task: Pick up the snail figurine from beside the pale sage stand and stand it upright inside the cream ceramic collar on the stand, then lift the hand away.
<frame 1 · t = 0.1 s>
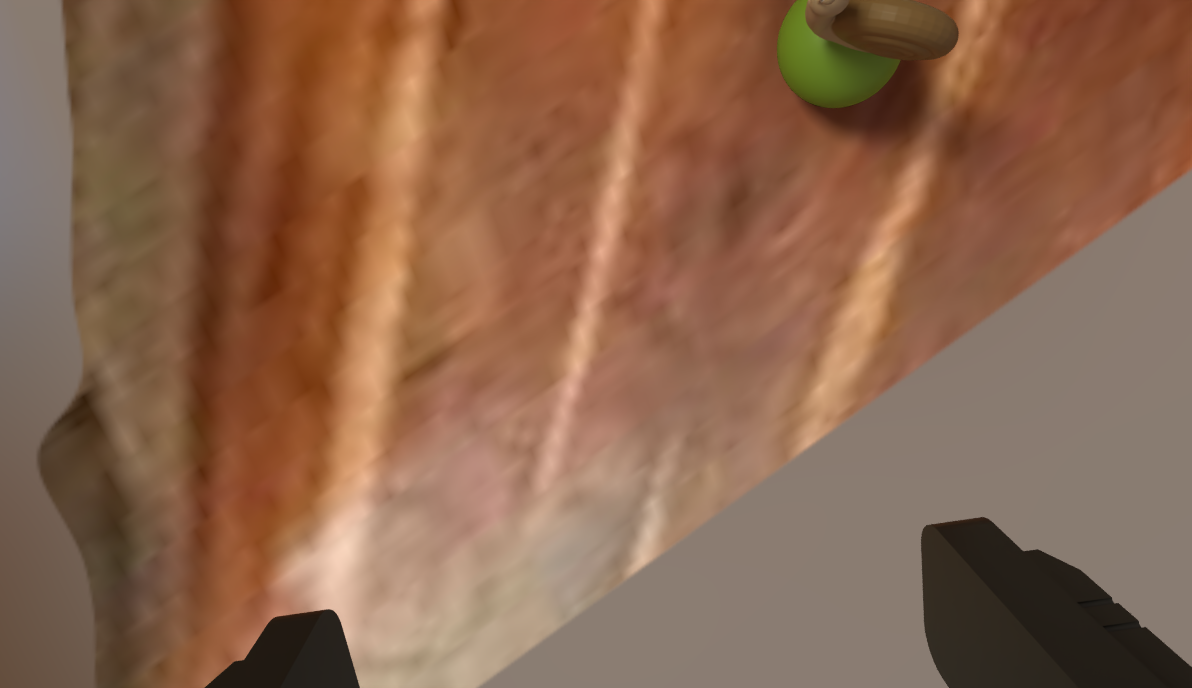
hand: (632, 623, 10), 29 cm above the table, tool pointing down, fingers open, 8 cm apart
snail figurine: (809, 49, 36), on the table
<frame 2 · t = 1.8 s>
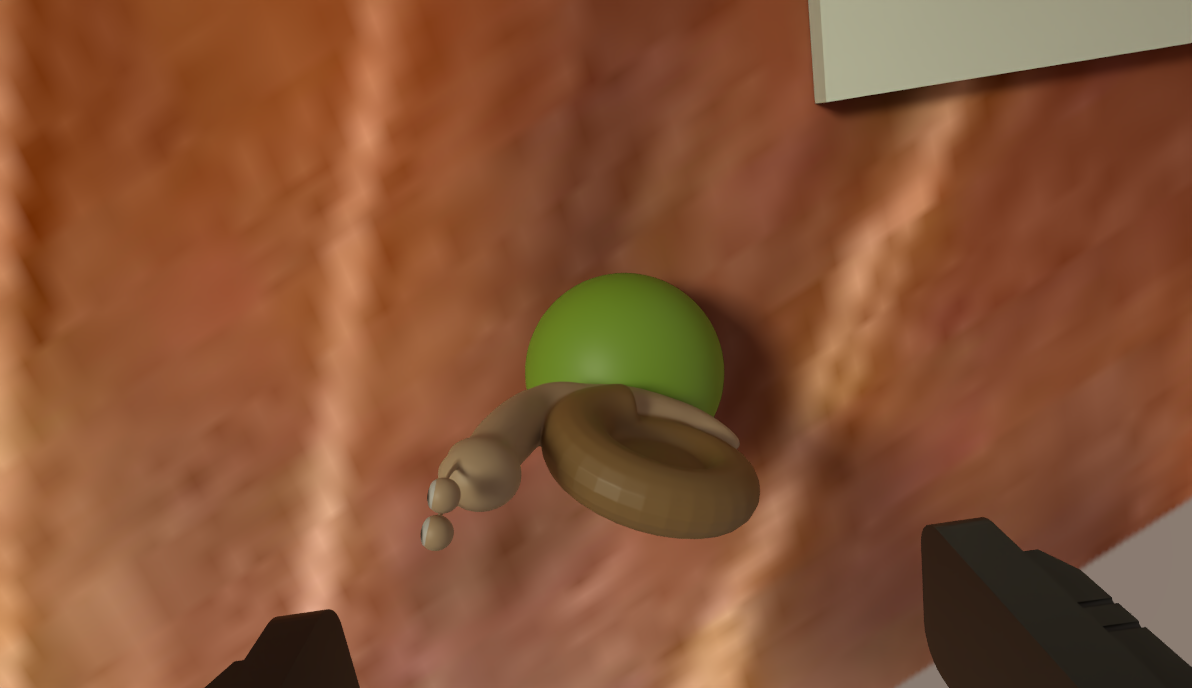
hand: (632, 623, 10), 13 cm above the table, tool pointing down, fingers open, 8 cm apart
snail figurine: (603, 339, 23), on the table
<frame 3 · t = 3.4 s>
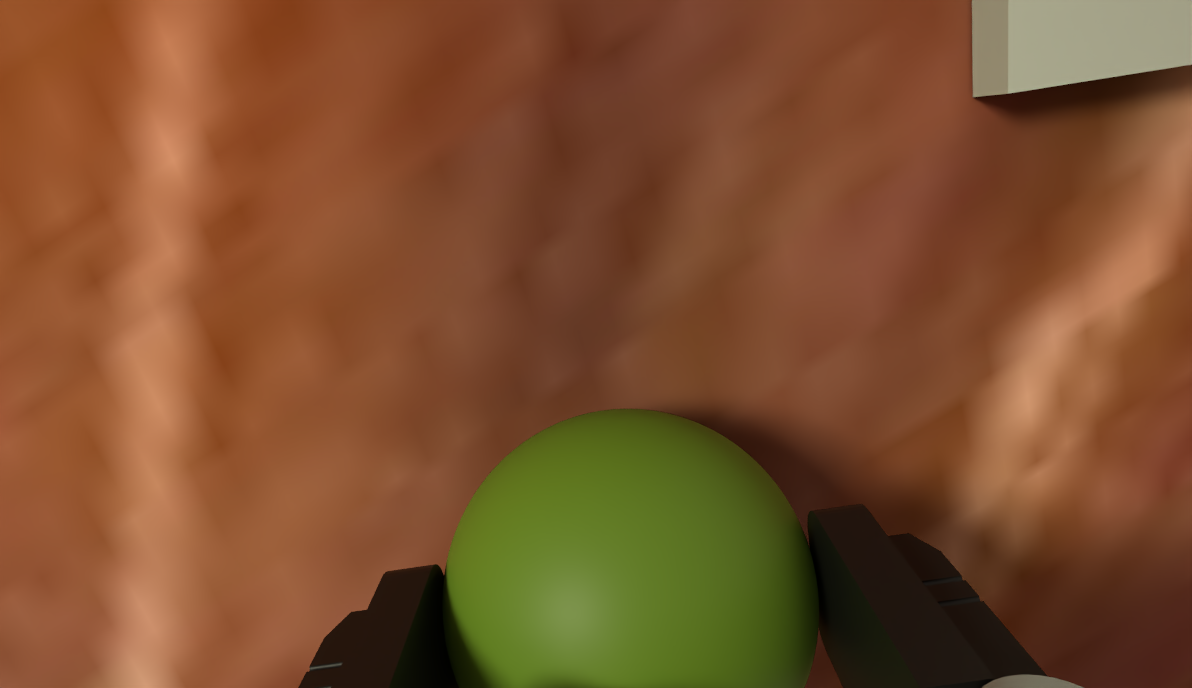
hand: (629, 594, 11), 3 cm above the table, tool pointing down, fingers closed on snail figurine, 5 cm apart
snail figurine: (592, 493, 14), on the table, touching gripper
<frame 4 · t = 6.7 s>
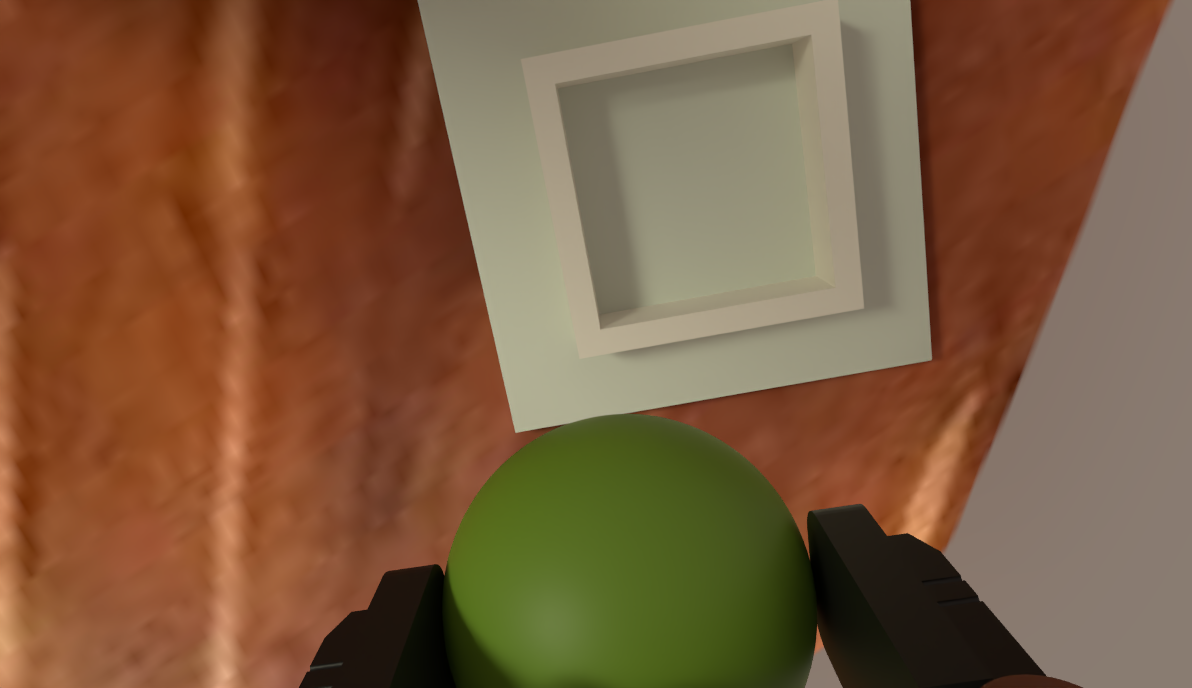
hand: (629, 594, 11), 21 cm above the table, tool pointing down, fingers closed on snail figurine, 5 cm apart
collar stand: (687, 184, 30), on the table
snail figurine: (591, 497, 14), point 18 cm above the table, touching gripper
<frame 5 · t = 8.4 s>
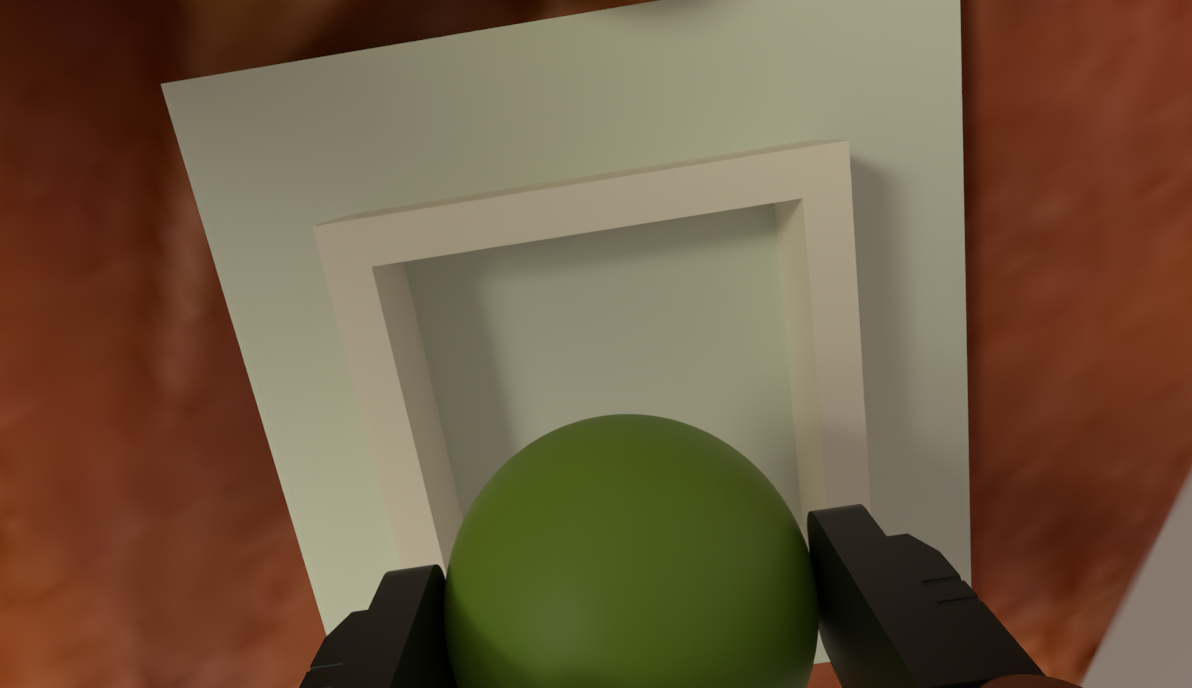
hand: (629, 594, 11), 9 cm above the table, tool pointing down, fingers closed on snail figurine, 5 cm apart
collar stand: (612, 382, 20), on the table
snail figurine: (592, 497, 14), point 6 cm above the table, touching gripper
when the fingers open (5 cm above the table, at t = 9.6 s): snail figurine moves 1 cm, resting on collar stand.
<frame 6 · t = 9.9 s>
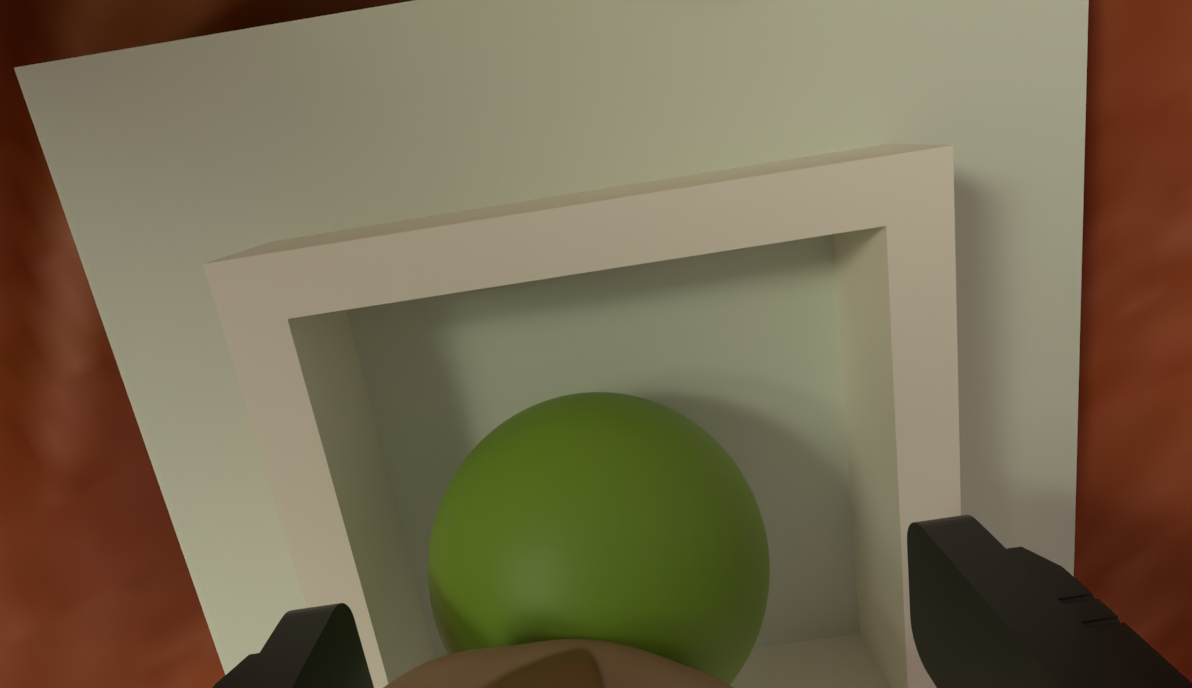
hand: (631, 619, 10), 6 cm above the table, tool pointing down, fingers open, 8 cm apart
collar stand: (617, 452, 15), on the table
snail figurine: (572, 473, 15), point 1 cm above the table, touching collar stand
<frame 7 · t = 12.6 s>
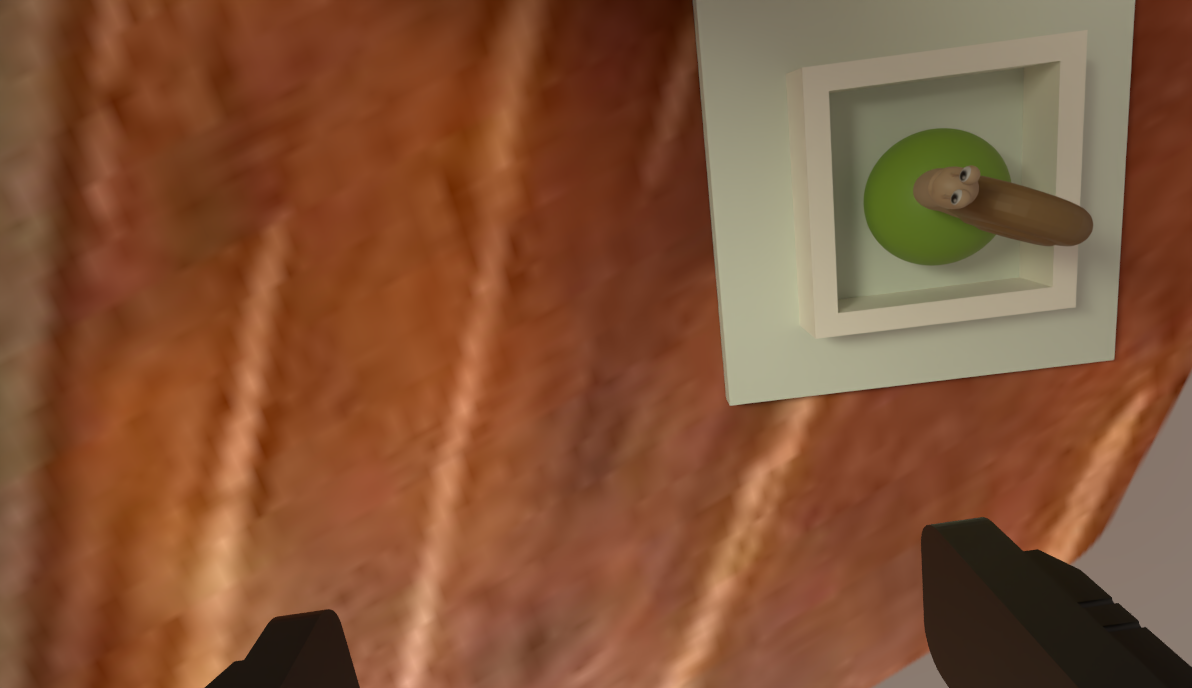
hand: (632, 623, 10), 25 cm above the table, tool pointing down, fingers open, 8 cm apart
collar stand: (908, 188, 33), on the table
snail figurine: (894, 190, 32), point 1 cm above the table, touching collar stand
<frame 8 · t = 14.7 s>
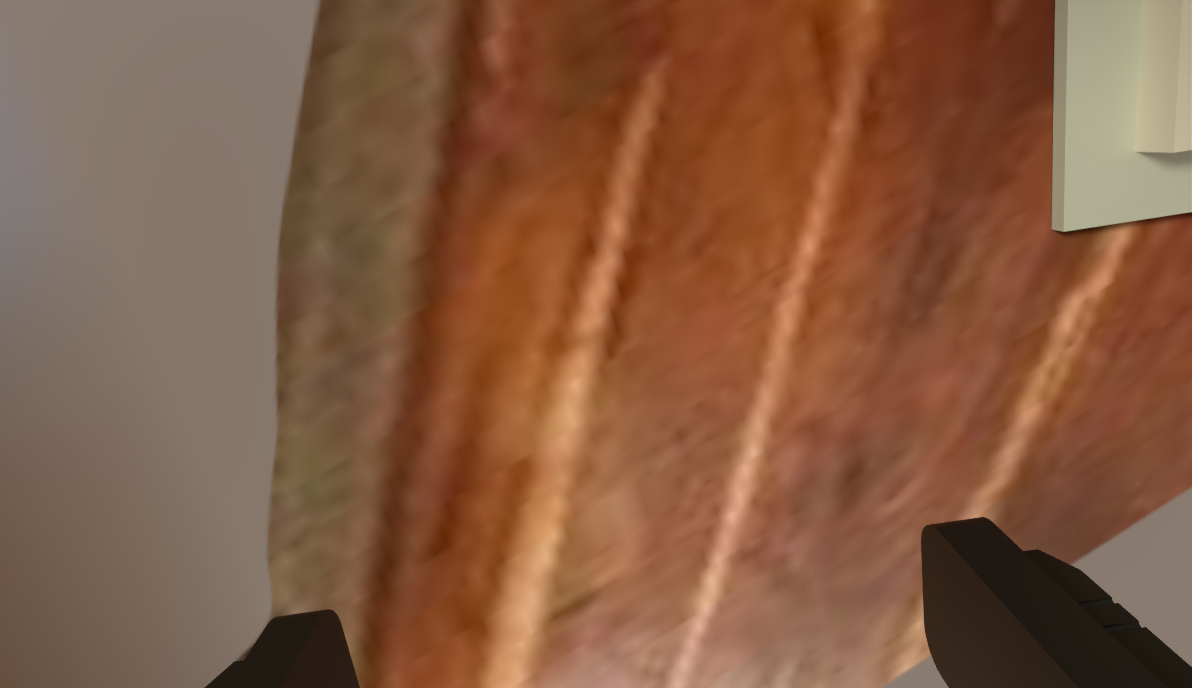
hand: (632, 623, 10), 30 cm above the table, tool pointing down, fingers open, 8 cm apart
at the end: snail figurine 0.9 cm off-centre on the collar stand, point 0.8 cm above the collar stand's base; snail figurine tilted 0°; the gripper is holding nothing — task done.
